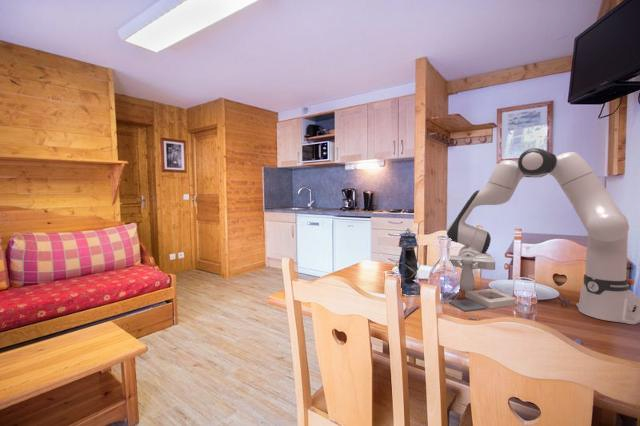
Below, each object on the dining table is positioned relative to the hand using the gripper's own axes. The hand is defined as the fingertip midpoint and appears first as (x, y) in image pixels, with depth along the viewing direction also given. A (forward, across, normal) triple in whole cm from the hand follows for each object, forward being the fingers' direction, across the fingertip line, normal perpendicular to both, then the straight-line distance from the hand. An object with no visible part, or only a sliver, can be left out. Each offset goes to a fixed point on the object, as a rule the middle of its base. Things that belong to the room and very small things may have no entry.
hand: (467, 266), depth 125 cm
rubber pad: (-1, 0, +17) cm, 17 cm away
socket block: (-11, +9, +17) cm, 22 cm away
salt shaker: (-1, 0, +10) cm, 10 cm away
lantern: (-9, -25, +17) cm, 32 cm away
